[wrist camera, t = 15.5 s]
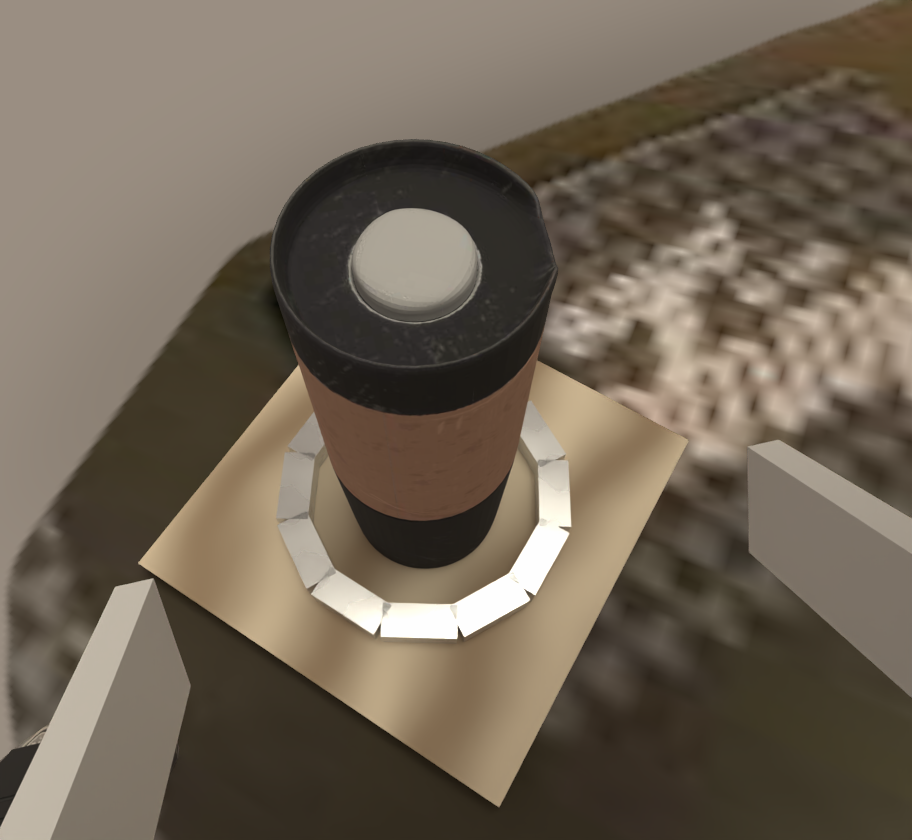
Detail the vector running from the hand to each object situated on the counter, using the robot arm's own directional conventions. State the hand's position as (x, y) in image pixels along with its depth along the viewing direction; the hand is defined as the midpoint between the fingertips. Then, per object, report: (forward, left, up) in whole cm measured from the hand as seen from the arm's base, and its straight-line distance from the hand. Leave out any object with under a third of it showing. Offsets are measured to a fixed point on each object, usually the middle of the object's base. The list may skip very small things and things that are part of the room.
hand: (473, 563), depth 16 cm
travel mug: (+5, -6, -20) cm, 21 cm away
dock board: (+6, -6, -21) cm, 22 cm away
